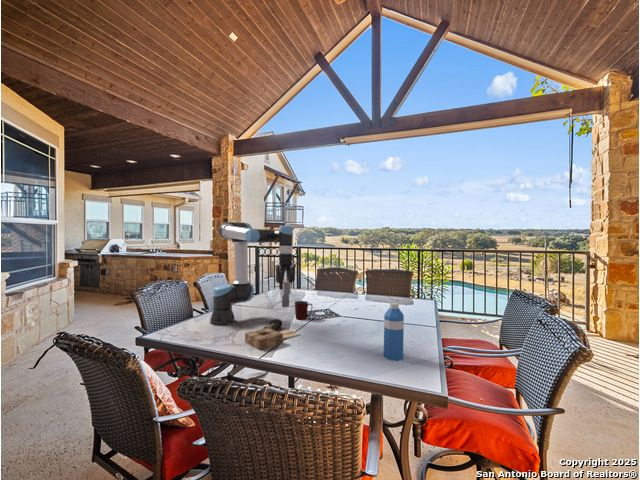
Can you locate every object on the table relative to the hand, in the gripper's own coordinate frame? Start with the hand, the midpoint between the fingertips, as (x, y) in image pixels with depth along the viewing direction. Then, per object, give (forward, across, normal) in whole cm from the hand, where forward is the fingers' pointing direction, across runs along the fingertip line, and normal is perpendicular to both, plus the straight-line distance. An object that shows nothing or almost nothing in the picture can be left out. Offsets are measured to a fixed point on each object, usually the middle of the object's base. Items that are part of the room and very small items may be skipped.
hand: (285, 294), depth 169 cm
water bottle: (+23, +20, -58) cm, 66 cm away
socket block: (+23, -16, -3) cm, 28 cm away
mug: (+23, +29, +18) cm, 41 cm away
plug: (+7, 0, 0) cm, 7 cm away
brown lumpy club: (+23, -2, +10) cm, 25 cm away
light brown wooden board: (+23, 0, 0) cm, 23 cm away
